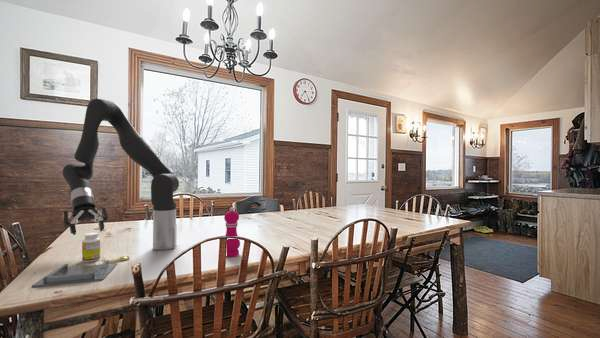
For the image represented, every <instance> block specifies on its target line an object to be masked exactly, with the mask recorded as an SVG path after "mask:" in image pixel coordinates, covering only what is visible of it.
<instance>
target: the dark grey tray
mask: <svg viewBox="0 0 600 338" xmlns="http://www.w3.org/2000/svg"><path fill="white" fill-rule="evenodd" d="M108 261H109V260H104V261H103V262H102V263H101V264H91V265H90V264H89V265H79V266H68V263H64V264H62V265H61V266H59V267H57V268H56V269H54V270H53V271H51V272H49V273H48V274H46V275H45V276H44V277H42V278H40V279H39V280H38V281H36V282H35V283H33V284H32V285H31V288H40V287H48V286H58V285H67V284H79V283H80V284H81V283H85V282H86V283H87V282H90V283H91V282H97V281H103V280H104V279H106V278H107V277H108V275H109V274H110V273H111V272H112V271H113V270H114V269H115V268H116V267H117V266H118V262H115V263H111V264H109V263H108Z"/></svg>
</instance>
